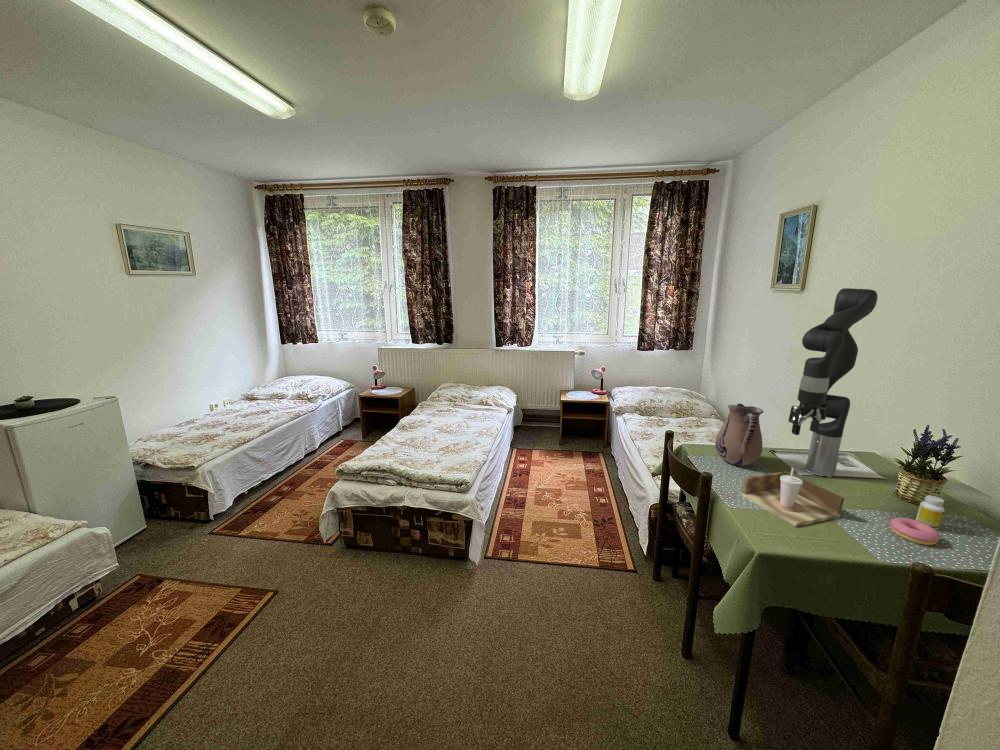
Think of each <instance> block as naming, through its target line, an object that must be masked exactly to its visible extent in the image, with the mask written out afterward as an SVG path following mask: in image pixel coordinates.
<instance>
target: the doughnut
mask: <svg viewBox="0 0 1000 750" xmlns="http://www.w3.org/2000/svg"><path fill="white" fill-rule="evenodd" d="M889 528H890V530H891V531H892V532H893V533H894V534H895V535H897V536H898V537H900V538H902V539H903V540H906V541H909V542H911V543H914V544H917V545H925V546H933V545H936V544H937V543H939V541H940V540H941V537H940V533H939V532H938V531H937V530H935V529H933V528H932V527H930V526H929V525H927V524H925V523H922V522H919V521H916V519H912V518H907V517H894V518H892V519H891V520H890V521H889Z"/></svg>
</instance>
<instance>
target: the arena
mask: <svg viewBox="0 0 1000 750" xmlns="http://www.w3.org/2000/svg"><path fill="white" fill-rule="evenodd" d="M782 475H789V476H791V472H789V471H786V470H784V471H779V472H777V471H776V472H772V473H765V474H758V475H753V476H746V477H744V479H743V485H742V492H741V496H742V497H744V498H745V499H746V500H748V501H751V502H752V503H754V504H756V505H757V506H759V507H761V508H762V509H764V510H766V511H767V512H769V513H770V514H772V515H775V516H776V517H778V518H780V520H782V521H785V522H786V523H789V524H790V525H791V526H793V527H794V528H796V527H802V526H806V525H811V524H815V523H820V522H825V521H828V520H834V519H838V518H840V517H841V515H842V514H841V512H842V509H843V505H844V504H843V503H844V500H845V497H843V496H841V495H839V494H836V493H834V492H832V491H830V490H827V489H825V488H824V487H821V486H819V485H817V484H814V483H812V482H811V481H808V480H806V479H804V478H802V477H800V476H797V475H795V474H793V476H794V477H797V478H799V479H801V480H802V481H803V485H802V486H801V488H800V490H799V493H798V495H797V498H796V501H795V503H794V506H793V507H792V508H788V507H785V506H783V505H781V504H780V491H781V481H780V477H781V476H782Z"/></svg>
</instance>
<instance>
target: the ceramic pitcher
mask: <svg viewBox="0 0 1000 750" xmlns="http://www.w3.org/2000/svg"><path fill="white" fill-rule="evenodd" d="M727 408H728V409H729V413H728V416H727V417H726V419H725V420H724V422H723V424H722V425H721V426H720V427H721V428H720V429H719V431H718V433H717V435H716V438H715V442H714V444H715V446H714V447H715V450H716V452H717V454H718V455H719V456H720V458H721V459H722V460H723V461H725V462H727V463H729V464H731V465H734V466H739V467H741V466H744V467H745V466H749V465H751V464H753V463H754V462H755V461H757V460H758V458H759V457H761V455H762V453H763V436H762V435H763V434H762V431H761V425H760V416H761V414H763V413H764V409H762V408H760V407H757V406H752V405H751V406H748V405H747V406H745V405H744V404H743V403H736V405H735V404H729V405H727Z"/></svg>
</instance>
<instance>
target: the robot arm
mask: <svg viewBox="0 0 1000 750" xmlns="http://www.w3.org/2000/svg"><path fill="white" fill-rule="evenodd" d="M877 301H878V293H877V291H876V290H873V289H871V288H870V289H868V288H852V287H851V288H850V287H849V288H847V287H845V288H841V289H840V290H839V291H838V292H837V293H836V297H835V300H834V304H833V305H834V307H833V312H832V314H831V315H830V316H828V317H827V318H826V319H825V320H824V321H823V323H820V324H818V325H815V326H814V327H812V328H809V330H807V331H806V332H805V334H804V335H803V336H802V340H801V341H802V342H801V344H802V346H803V348H805V349H806V350H808V351H812V352H821V353H825V354H824V356H821V357H809V358H807V359H805V362H804V367H803V372H802V377H801V379H800V384H799V389H798V394H797V401H799V405H797V406H796V405H791V407H790V412H789V416H788V422H789V423H792V428H791V433H792V435H796V436H800V431H801V427H802V424H803V422H805V421H807V420H808V418H809V419H810V418H811V421H810V426H809V431H810V432H812V435H811V441H810V445H809V448H808V449H809V450H808V455H807V460H806V465H805V468H806V469H807V470H808V471H810V472H812V473H815V474H818V475H822V476H827V477H826V478H832V477H831V476H833V475H834V476H835V474H836V470H837V467H838V461H839V457H840V448H841V444H842V439H843V434H844V429H845V424H846V423H847V422H846V421H847V418H848V415H849V412H850V408H851V400H850V398H849V397H846V396H840V395H833V394H828V392H829V390H831V388H832V387H833V386H834V385H835V383H837V382H838V381H839V380H841V378H843V377H844V376H846V375H847V374H848V373H849V372H850V371H852V369H853V368H854V367H855V365H856V361H857V358H858V352H859V348H858V345H857V343H856V340H855V338H854V337H853V335H852V334H851V332H850V329H851V327H852V326H853V325H855V324H856V323H858V322H860V321H861V320H863V319H864V318H866V317H867V316H869V315H870V314H871V313H872V312H873V310H875V308H876V305H877ZM826 418H828V419H834V420H832V421H831V420H830V421H829V422H828V421H827V422H822V421H825V420H826ZM821 422H822V423H821ZM806 469H805V470H806ZM808 471H807V472H808ZM834 473H835V474H834ZM834 476H833V477H834Z"/></svg>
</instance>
